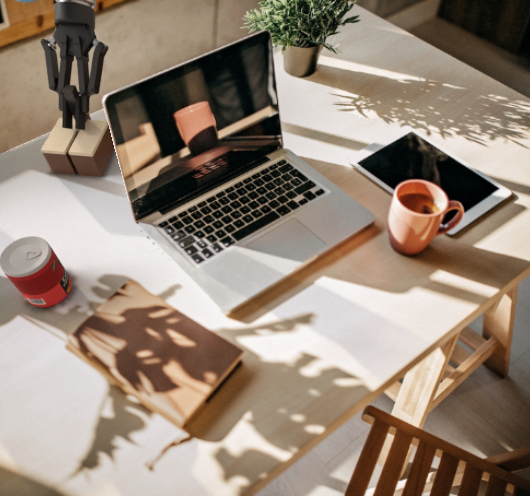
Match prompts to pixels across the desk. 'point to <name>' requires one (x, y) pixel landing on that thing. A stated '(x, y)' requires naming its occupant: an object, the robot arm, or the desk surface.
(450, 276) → the desk surface
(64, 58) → the robot arm
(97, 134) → the cake
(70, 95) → the slicer
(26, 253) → the canned food
